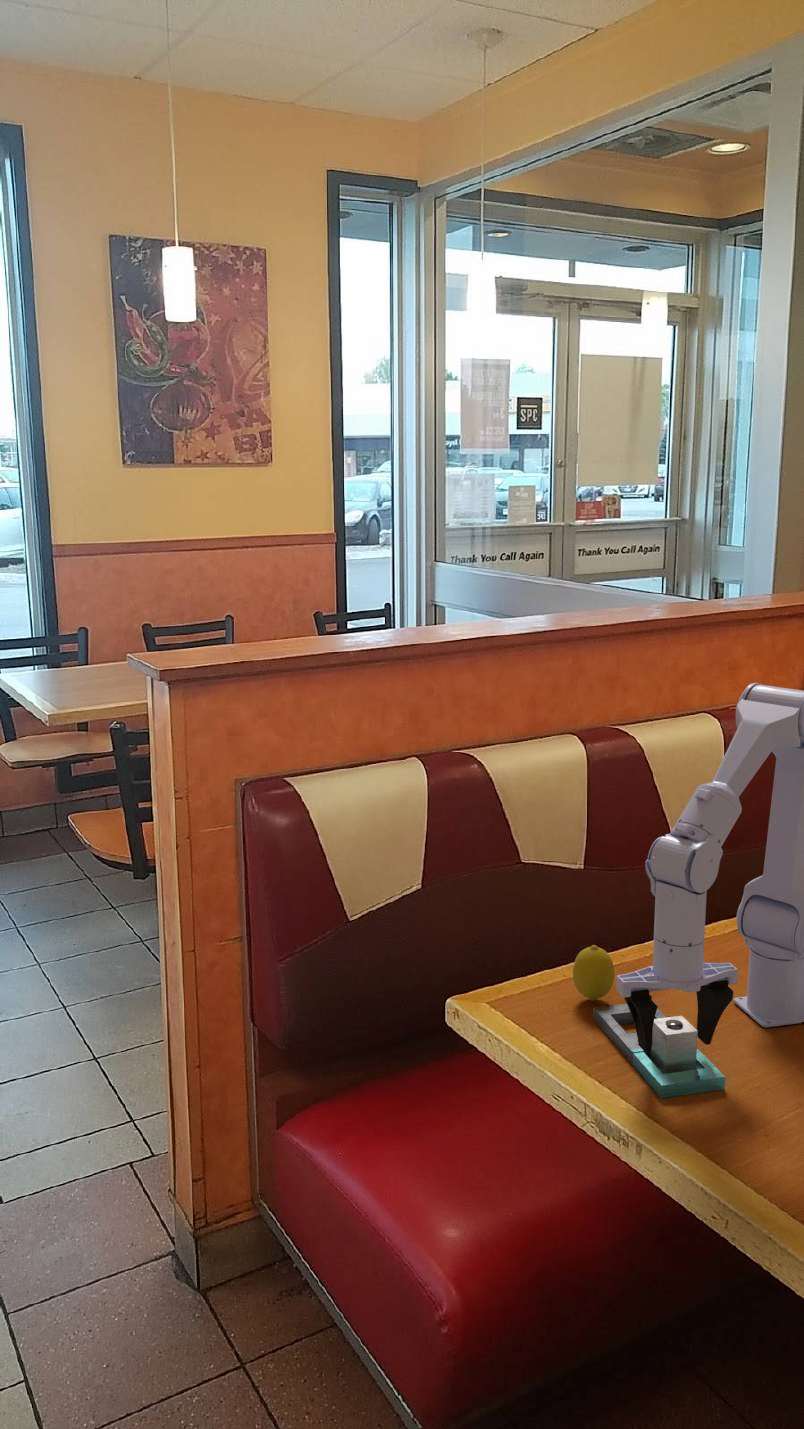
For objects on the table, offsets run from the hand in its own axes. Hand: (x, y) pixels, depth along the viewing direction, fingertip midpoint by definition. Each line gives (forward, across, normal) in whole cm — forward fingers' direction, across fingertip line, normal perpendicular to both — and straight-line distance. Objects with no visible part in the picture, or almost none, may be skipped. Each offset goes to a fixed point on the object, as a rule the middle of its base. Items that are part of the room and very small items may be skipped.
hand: (674, 1044), depth 134 cm
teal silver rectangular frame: (+4, 0, +5) cm, 6 cm away
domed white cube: (+4, 0, 0) cm, 4 cm away
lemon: (+4, -2, +20) cm, 20 cm away
